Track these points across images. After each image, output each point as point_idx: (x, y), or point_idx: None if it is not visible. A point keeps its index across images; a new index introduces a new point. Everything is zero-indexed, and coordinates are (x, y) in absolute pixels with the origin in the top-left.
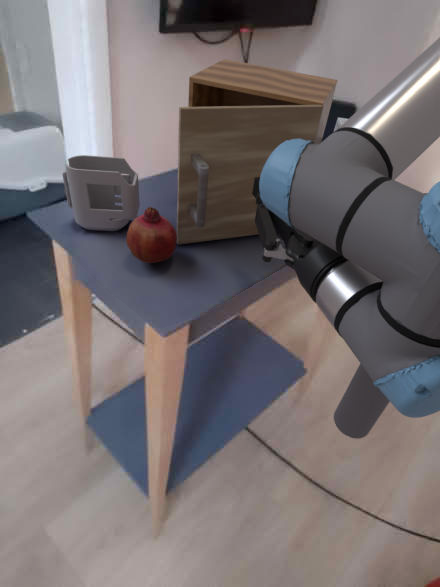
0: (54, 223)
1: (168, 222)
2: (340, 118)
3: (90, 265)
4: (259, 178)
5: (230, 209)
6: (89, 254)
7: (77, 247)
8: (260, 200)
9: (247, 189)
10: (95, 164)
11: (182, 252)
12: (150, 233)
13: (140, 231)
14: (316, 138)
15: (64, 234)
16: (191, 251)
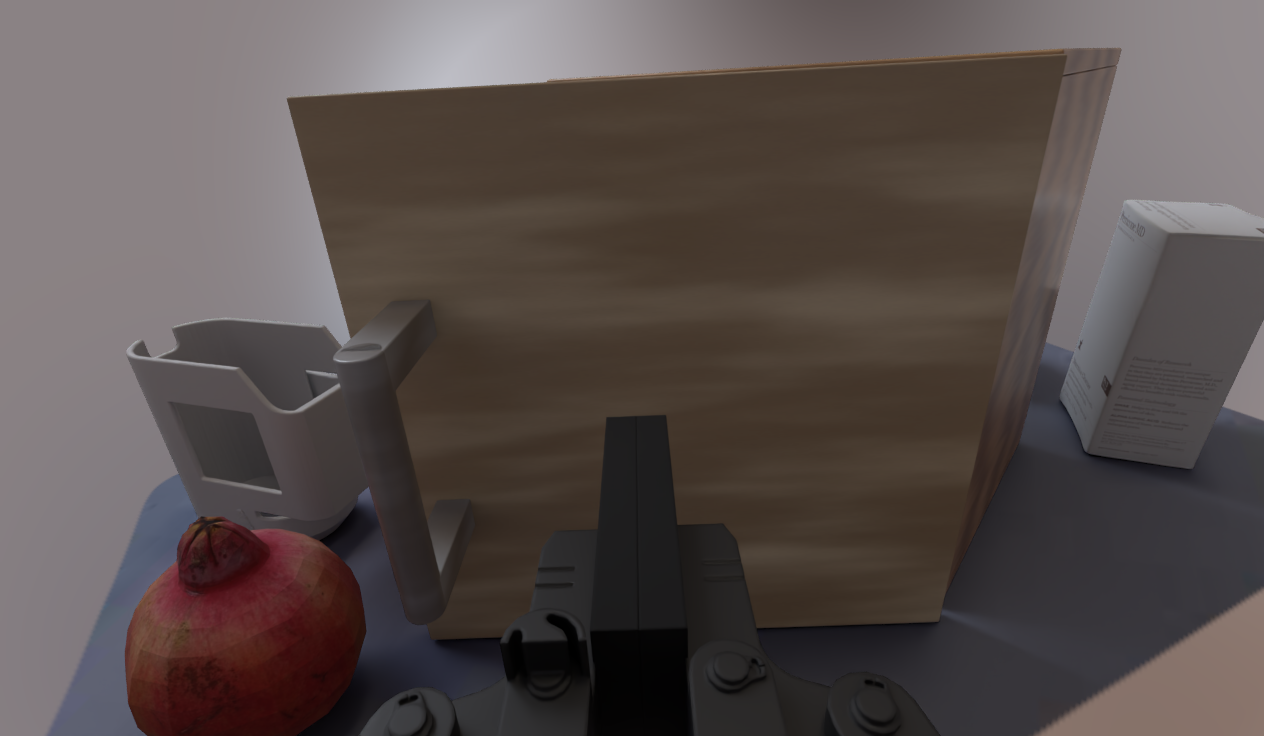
0: (173, 503)
1: (295, 583)
2: (1136, 201)
3: (66, 700)
4: (629, 425)
5: None
6: (123, 642)
7: (125, 604)
8: (532, 608)
9: (692, 452)
10: (258, 344)
11: (422, 685)
12: (157, 642)
13: (137, 623)
14: (1037, 241)
15: (152, 545)
16: (459, 685)
